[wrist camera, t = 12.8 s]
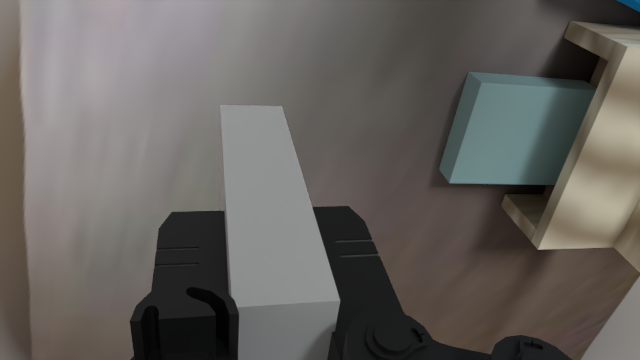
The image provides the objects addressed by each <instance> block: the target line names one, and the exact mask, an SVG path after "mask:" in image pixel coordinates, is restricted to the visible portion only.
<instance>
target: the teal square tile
mask: <svg viewBox="0 0 640 360" xmlns="http://www.w3.org/2000/svg"><path fill="white" fill-rule="evenodd" d="M596 90H597V88H596V87H594V86H592V85H591V84H589V83H587V82H586V81H584V80H571V79H558V78H545V77H532V76H519V75H506V74H493V73H480V72H468V75H467V78H466V81H465V85H464V88H463V91H462V94H461V98H460V101H459V104H458V108H457V111H456V114H455V117H454V121H453V124H452V127H451V131H450V134H449V137H448V140H447V144H446V147H445V150H444V154H443V157H442V160H441V164H440V167H439V170H440V172H441V173H442V174H443V176H444V177H445V178H446V180H447V181H448V182H449V183H468V184H521V185H556V183H557V180H558V178H559V176H560V173H561V171H562V169H563V166H564V164H565V162H566V159H567V157H568V155H569V152H570V150H571V148H572V145H573V143H574V141H575V138H576V136H577V134H578V131H579V129H580V127H581V124H582V122H583V120H584V117H585V115H586V113H587V110H588V108H589V106H590V103H591V101H592V99H593V96H594V94H595V92H596Z"/></svg>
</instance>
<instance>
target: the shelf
mask: <svg viewBox="0 0 640 360" xmlns="http://www.w3.org/2000/svg"><path fill="white" fill-rule="evenodd" d="M564 38H565V39H567V40H569V41H571V42H573V43H575V44H577V45H579V46H581V47H583V48H585V49H587V50H589V51H591V52H592V53H594V54H596V55H598V56H600V59H599V62H598V64H597V66H596V69H595V71H594V73H593V76H592V78H591V81H590V83H589V84H591V85H592V86H594V87H596V88H597V90H596V92H595V94H594V96H593V99H592V101H591V103H590V106H589V108H588V110H587V113H586V115H585V117H584V120H583V122H582V124H581V127H580V129H579V131H578V134H577V136H576V138H575V141H574V143H573V145H572V148H571V150H570V152H569V155H568V157H567V159H566V162H565V164H564V166H563V169H562V171H561V173H560V176H559V178H558V180H557V183H556V185H546V188H545V190H544V193H543V194H505V196H504V199H503V202H502V204H501V207H502V208H503V209H504V210H505V212H506V213H507V214H508V215H509V216H510V217H511V219H512V220H513V221H514V222H515V223H516V224H517V226H518V227H519V228H520V229H521V230H522V232H523V233H524V234H525V235H526V236H527V237H528V239H529V240H530V241H531V242H532V243H533V245H534V246H535V247H536V248H537V249H538V250H543V249H575V248H607V247H614V248H615V249H616V250H617V251H618V252H619V253H620V254H621V255H622V256H623V257H624V258H625V259H626V260H627V261H628V262H629V263H631V264H632V265H633V266H634V267H635V268H636V269H637V270H638V271H639V272H640V27H638V26H626V25H615V24H603V23H592V22H580V21H570V23H569V25H568V28H567V31H566V33H565V36H564Z"/></svg>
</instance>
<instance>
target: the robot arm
mask: <svg viewBox="0 0 640 360" xmlns="http://www.w3.org/2000/svg"><path fill="white" fill-rule="evenodd" d="M130 326H131V334H132V342H133V349H134V356H133V357H132V358H131V359H130V360H572V359H570V358H569V357H568V356H567V355H565V354H564V353H563V352H562V351H560V350H559V349H558V348H556V347H555V346H553V345H551V344H549V343H547V342H544V341H542V340H540V339H538V338H533V337H528V336H523V335H518V336H510V337H505V338H504V339H502V340H501V341H499V342H498V343H496V344H495V346H494V349H493V351H492V353H491V354H486V353H481V352H476V351H471V350H466V349H461V348H456V347H452V346H448V345H445V344H441V343H439V342H437V341H435V340H433V339H432V337H431V336H430V335H429V333H428V332H427V330H426V329H425V327H424V326H422V325H421V324H420V323H418V322H417V321H416V320H414V319H413V318H411V317H410V316H407V315H405V313H404V312H403V310H402V307H401V305H400V303H399V301H398V298H397V296H396V294H395V291H394V289H393V287H392V284H391V282H390V280H389V277H388V275H387V273H386V270H385V268H384V266H383V263H382V261H381V259H380V256H379V257H378V252H377V249H376V247H375V245H374V242H372V238H371V235H370V233H369V231H368V228H367V226H366V224H365V221H364V220H363V219H362V218H361V217H359V216H358V215H357V214H356V213H355V212H354V211H353V210H352V209H351V208H350V207H349V206H336V207H312V205H311V201H310V198H309V195H308V191H307V188H306V185H305V181H304V178H303V175H302V171H301V168H300V165H299V161H298V158H297V155H296V151H295V148H294V145H293V141H292V138H291V135H290V131H289V128H288V125H287V121H286V118H285V115H284V111H283V108H282V106H249V105H220V211H193V212H172V213H171V214H170V215H169V217H168V218H167V219H166V220H165V222H164V223H163V224H162V225H161V227H160V228H159V232H158V240H157V252H156V257H155V269H154V273H153V282H152V290H151V292H150V293H149V294H148V295H147V296H146V297H145V298H144V299H143V300H142V301H141V302H140V303H139V304H138V305H137V306H136V308H135V310H134V313H133V315H132V317H131V320H130Z"/></svg>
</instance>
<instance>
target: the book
mask: <svg viewBox="0 0 640 360" xmlns="http://www.w3.org/2000/svg"><path fill="white" fill-rule="evenodd" d="M617 1H619V2H621V3H623V4H625V5H627V6H629V7H631V8H632V9H634V10H636V11H638V12H640V0H617Z"/></svg>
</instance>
